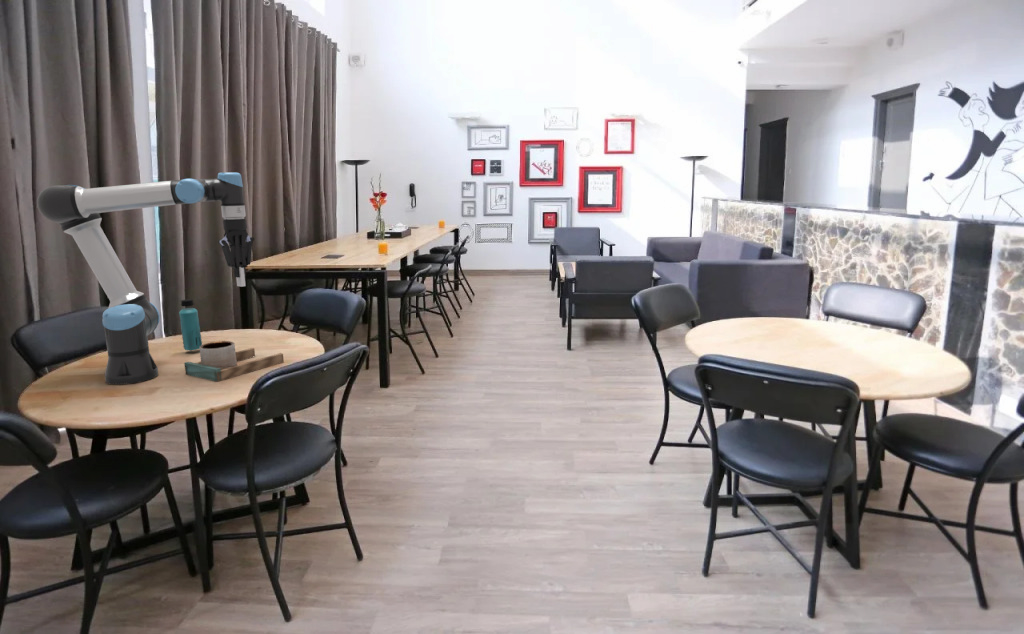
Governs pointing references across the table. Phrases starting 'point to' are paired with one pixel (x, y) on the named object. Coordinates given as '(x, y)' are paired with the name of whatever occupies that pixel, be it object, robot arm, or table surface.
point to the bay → (223, 374)
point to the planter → (218, 354)
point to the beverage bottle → (190, 326)
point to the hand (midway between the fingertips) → (241, 286)
